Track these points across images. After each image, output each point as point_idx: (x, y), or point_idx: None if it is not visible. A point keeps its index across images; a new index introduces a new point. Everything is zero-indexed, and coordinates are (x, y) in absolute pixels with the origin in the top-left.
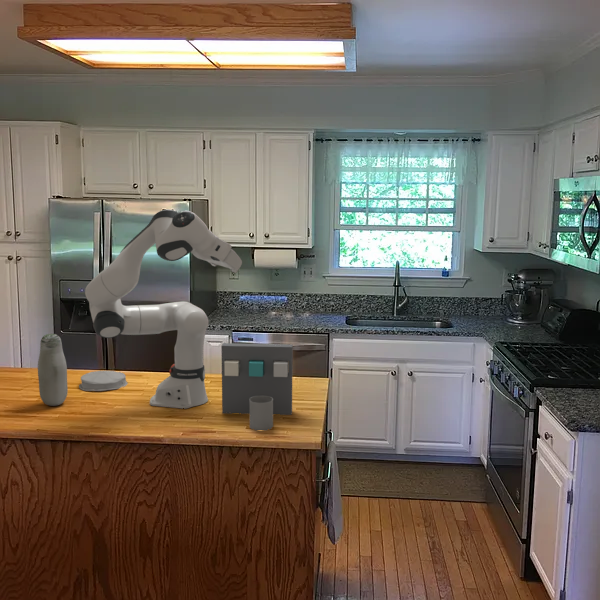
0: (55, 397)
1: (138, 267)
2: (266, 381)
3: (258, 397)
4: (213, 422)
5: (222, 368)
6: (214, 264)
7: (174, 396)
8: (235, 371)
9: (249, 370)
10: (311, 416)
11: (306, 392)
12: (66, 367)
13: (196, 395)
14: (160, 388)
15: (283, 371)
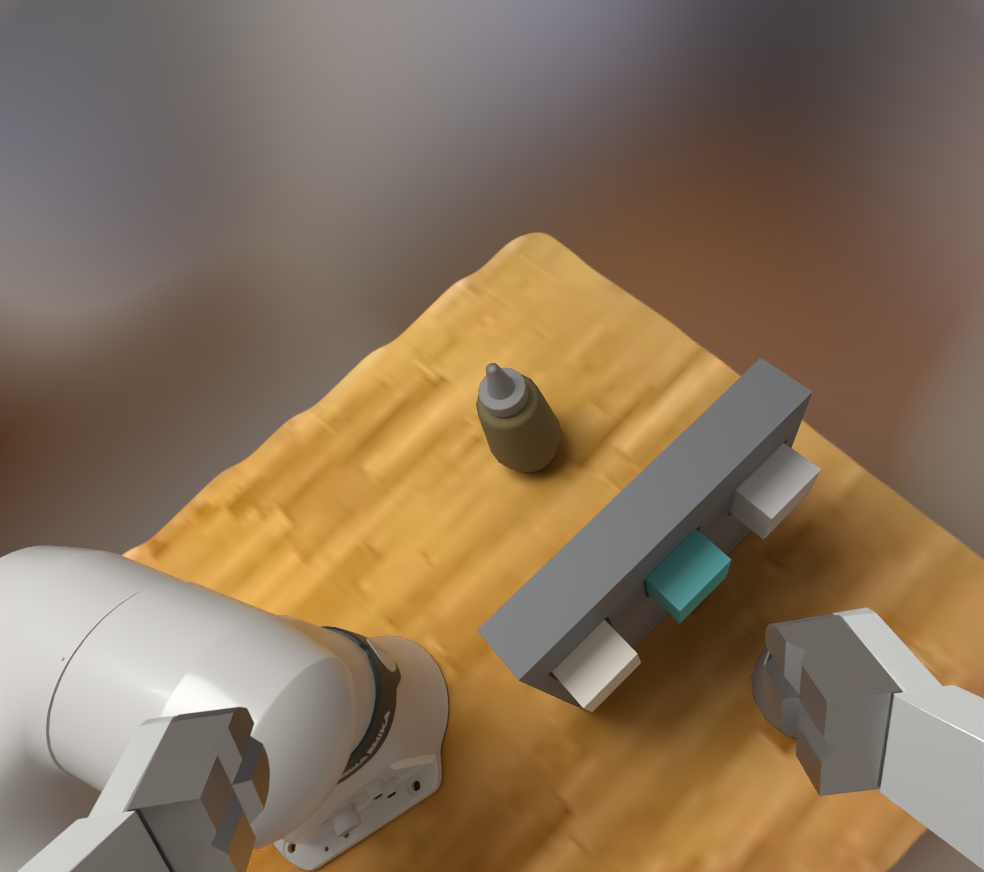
0: None
1: None
2: None
3: (769, 653)
4: (640, 808)
5: (547, 689)
6: (248, 838)
7: (364, 797)
8: (630, 669)
9: (681, 617)
10: (824, 474)
11: (603, 340)
12: None
13: (425, 722)
14: (294, 835)
15: (799, 497)
